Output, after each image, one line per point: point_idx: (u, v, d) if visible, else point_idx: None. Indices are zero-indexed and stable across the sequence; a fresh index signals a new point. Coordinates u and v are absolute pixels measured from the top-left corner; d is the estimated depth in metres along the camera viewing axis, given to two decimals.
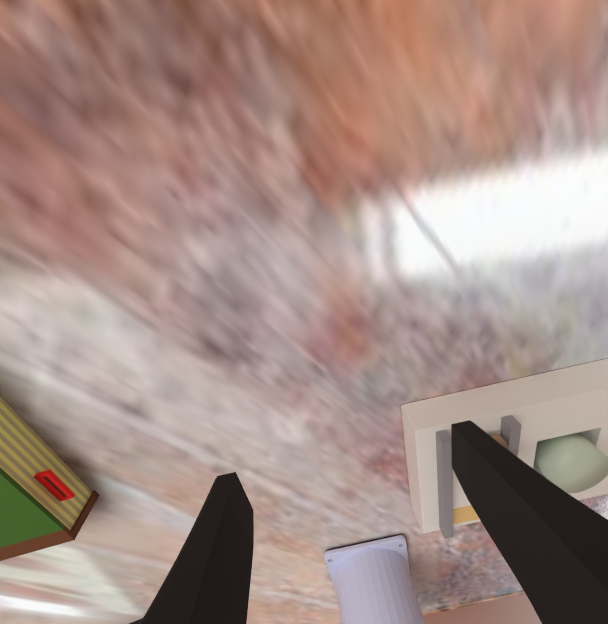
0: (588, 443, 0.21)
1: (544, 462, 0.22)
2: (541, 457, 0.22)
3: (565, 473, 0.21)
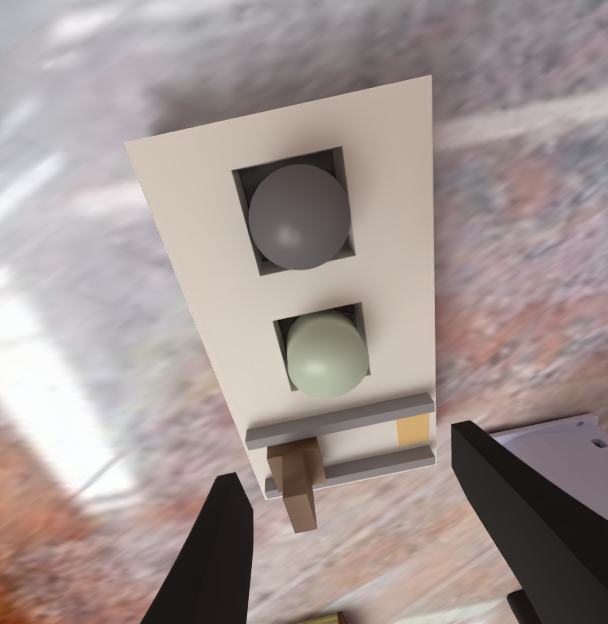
0: (288, 347, 0.15)
1: None
2: None
3: (322, 388, 0.15)
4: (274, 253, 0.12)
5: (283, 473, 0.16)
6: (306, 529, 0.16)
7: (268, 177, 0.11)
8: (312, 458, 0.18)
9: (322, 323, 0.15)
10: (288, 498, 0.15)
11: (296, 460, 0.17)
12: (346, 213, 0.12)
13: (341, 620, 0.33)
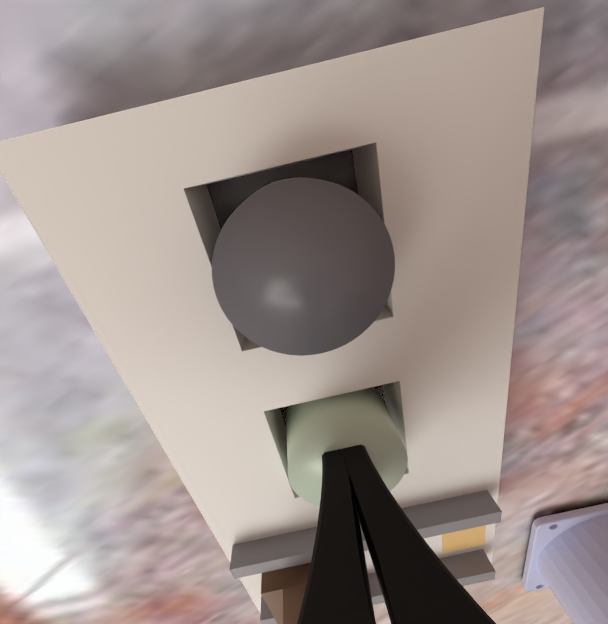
0: (288, 439, 0.11)
1: None
2: None
3: None
4: (261, 331, 0.07)
5: None
6: None
7: (244, 204, 0.06)
8: None
9: (338, 409, 0.10)
10: None
11: None
12: (387, 263, 0.07)
13: None
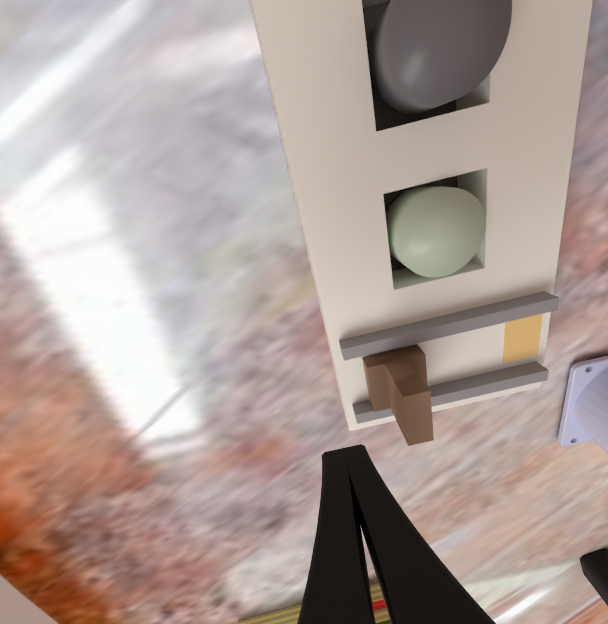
0: (394, 221, 0.14)
1: None
2: None
3: (431, 265, 0.14)
4: (413, 76, 0.10)
5: (393, 377, 0.14)
6: (421, 440, 0.14)
7: None
8: (417, 367, 0.16)
9: (435, 187, 0.13)
10: (409, 397, 0.13)
11: (404, 365, 0.15)
12: (506, 16, 0.10)
13: None
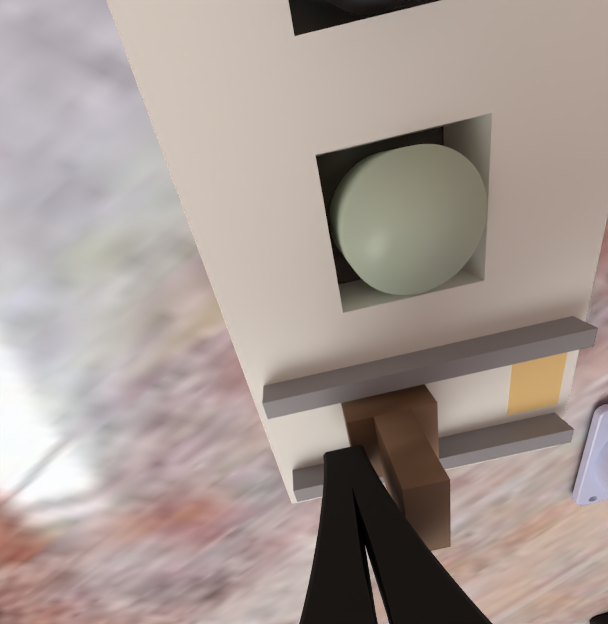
0: (340, 204, 0.09)
1: None
2: None
3: (399, 275, 0.09)
4: None
5: (387, 444, 0.09)
6: (431, 547, 0.09)
7: None
8: (424, 421, 0.10)
9: None
10: (413, 489, 0.08)
11: (404, 422, 0.09)
12: None
13: None
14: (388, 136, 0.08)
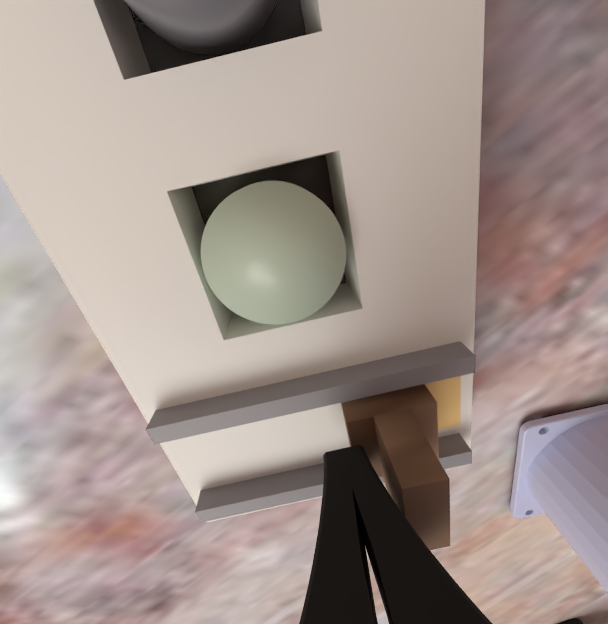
0: None
1: None
2: None
3: (267, 306, 0.09)
4: None
5: (386, 444, 0.09)
6: (431, 547, 0.09)
7: None
8: (424, 421, 0.10)
9: (260, 182, 0.08)
10: (413, 488, 0.08)
11: (404, 422, 0.09)
12: None
13: None
14: (237, 173, 0.08)
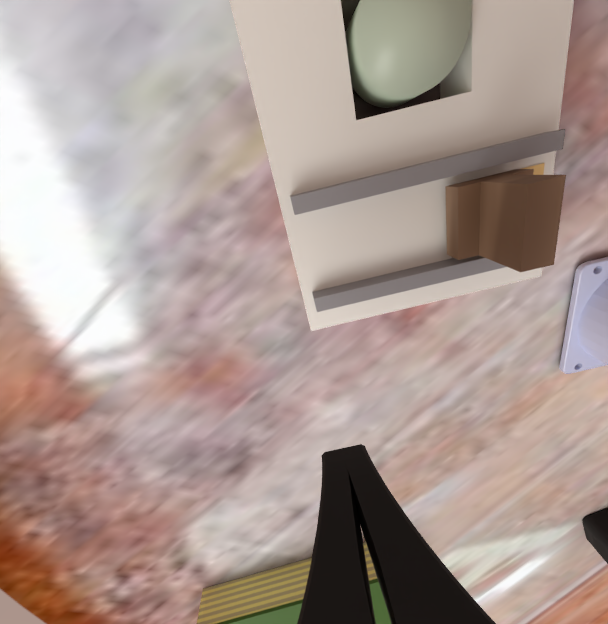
0: (354, 17, 0.11)
1: (394, 100, 0.12)
2: (389, 102, 0.13)
3: (401, 75, 0.11)
4: None
5: (501, 182, 0.11)
6: (539, 264, 0.11)
7: None
8: None
9: None
10: (536, 184, 0.10)
11: (510, 176, 0.11)
12: None
13: None
14: None
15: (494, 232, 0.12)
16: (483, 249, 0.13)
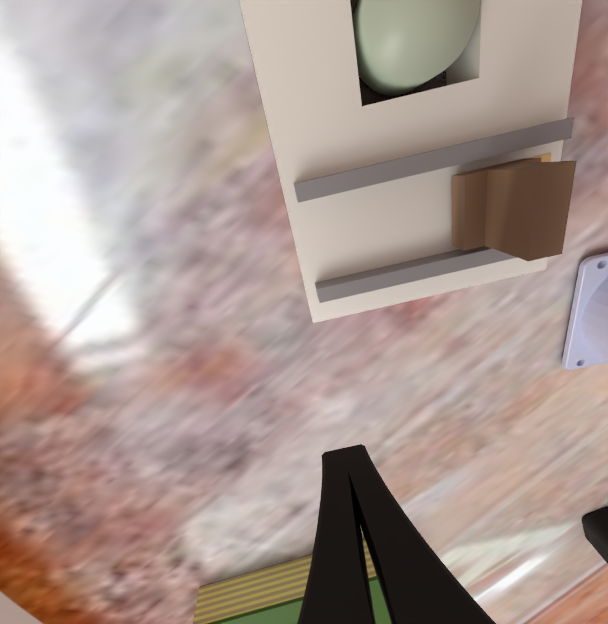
0: None
1: (400, 87, 0.12)
2: (395, 89, 0.12)
3: (409, 59, 0.11)
4: None
5: (509, 169, 0.11)
6: (547, 253, 0.11)
7: None
8: None
9: None
10: (546, 170, 0.09)
11: (517, 165, 0.11)
12: None
13: None
14: None
15: (501, 221, 0.12)
16: (489, 239, 0.13)
